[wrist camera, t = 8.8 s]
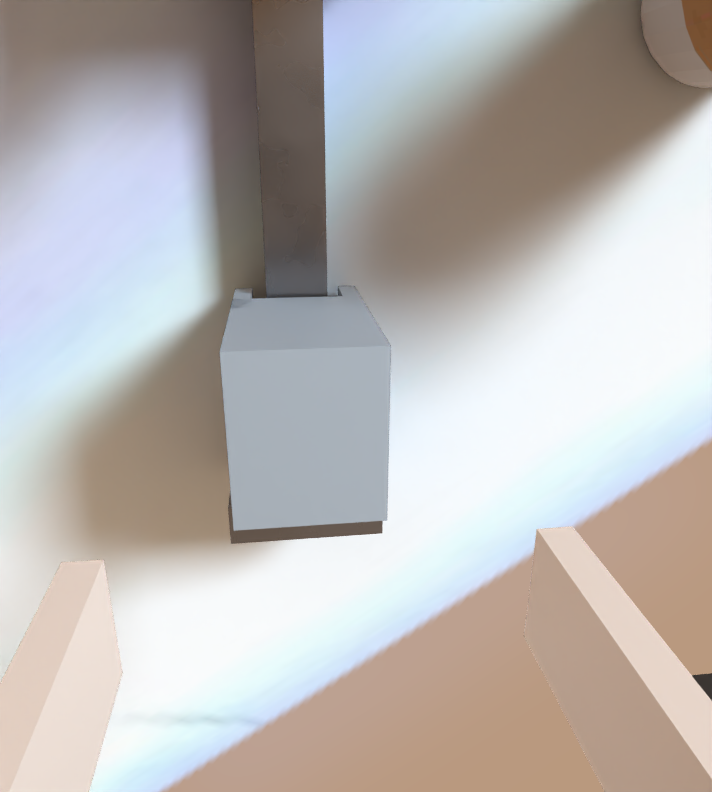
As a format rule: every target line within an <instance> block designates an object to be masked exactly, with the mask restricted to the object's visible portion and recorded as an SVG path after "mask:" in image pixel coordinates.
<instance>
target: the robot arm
mask: <svg viewBox="0 0 712 792" xmlns="http://www.w3.org/2000/svg"><path fill="white" fill-rule="evenodd" d="M524 637H525V639H526V641H527V643H528V645H529V647H530V649H531V651H532V653H533V655H534V657H535V659H536V661H537V662H538V664H539V666H540V668H541V670H542V672H543V674H544V676H545V678H546V680H547V682H548V684H549V685H550V688H551V689H552V691H553V693H554V695H555V697H556V699H557V701H558V703H559V705H560V707H561V709H562V710H563V713H564V714H565V716H566V718H567V720H568V722H569V724H570V726H571V728H572V730H573V732H574V734H575V736H576V738H577V740H578V741H579V743H580V745H581V747H582V749H583V751H584V753H585V755H586V757H587V759H588V761H589V763H590V765H591V766H592V768H593V770H594V772H595V774H596V776H597V778H598V780H599V782H600V784H601V786H602V788H603V789H604V792H712V673H711V674H701V675H691V674H690V673H689V672H688V670H687V669H686V668H685V667H684V665H683V664H682V663H681V662H680V661H679V659H678V658H677V657H676V655H675V654H674V653H673V652H672V651H671V649H670V648H669V647H668V646H667V644H666V643H665V642H664V640H663V639H662V638H661V637H660V635H659V634H658V633H657V632H656V630H655V629H654V628H653V627H652V626H651V624H650V623H649V622H648V621H647V619H646V618H645V617H644V615H643V614H642V613H641V612H640V611H639V609H638V608H637V607H636V605H635V604H634V603H633V602H632V600H631V599H630V598H629V597H628V595H627V594H626V593H625V592H624V590H623V589H622V588H621V587H620V585H619V584H618V583H617V582H616V580H615V579H614V578H613V577H612V575H611V574H610V573H609V572H608V571H607V569H606V568H605V567H604V565H603V564H602V563H601V562H600V560H599V559H598V558H597V557H596V555H595V554H594V553H593V552H592V550H591V549H590V548H589V547H588V545H587V544H586V543H585V542H584V540H583V539H582V538H581V537H580V535H579V534H578V533H577V532H576V530H575V529H574V528H573V526H572V527H558V528H544V529H537V532H536V540H535V548H534V557H533V565H532V574H531V582H530V590H529V599H528V607H527V615H526V624H525V632H524ZM122 673H123V672H122V666H121V660H120V654H119V648H118V642H117V636H116V630H115V624H114V618H113V612H112V606H111V600H110V594H109V588H108V582H107V576H106V570H105V564H104V559H101V560H87V561H73V562H61V564H60V566H59V568H58V570H57V572H56V574H55V576H54V578H53V580H52V582H51V584H50V586H49V588H48V590H47V592H46V594H45V596H44V598H43V600H42V602H41V604H40V606H39V608H38V610H37V612H36V614H35V616H34V617H33V619H32V621H31V623H30V625H29V627H28V629H27V631H26V633H25V635H24V637H23V639H22V641H21V643H20V645H19V647H18V649H17V651H16V653H15V655H14V657H13V659H12V661H11V663H10V665H9V667H8V669H7V671H6V673H5V675H4V677H3V679H2V681H1V683H0V792H89V790H90V786H91V783H92V779H93V776H94V772H95V768H96V765H97V761H98V758H99V754H100V751H101V747H102V744H103V740H104V737H105V733H106V730H107V726H108V722H109V719H110V715H111V712H112V708H113V705H114V701H115V698H116V694H117V691H118V687H119V684H120V680H121V676H122Z"/></svg>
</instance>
